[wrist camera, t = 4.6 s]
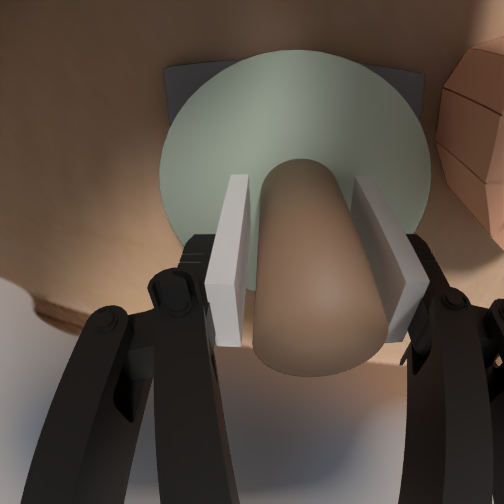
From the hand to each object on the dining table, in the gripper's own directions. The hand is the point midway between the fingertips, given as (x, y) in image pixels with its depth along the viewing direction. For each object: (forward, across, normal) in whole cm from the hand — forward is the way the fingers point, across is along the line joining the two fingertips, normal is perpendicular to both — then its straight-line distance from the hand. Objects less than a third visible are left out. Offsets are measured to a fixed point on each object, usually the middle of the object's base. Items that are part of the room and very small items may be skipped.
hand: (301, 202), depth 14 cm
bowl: (+3, +13, +4) cm, 14 cm away
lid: (+2, 0, 0) cm, 2 cm away
